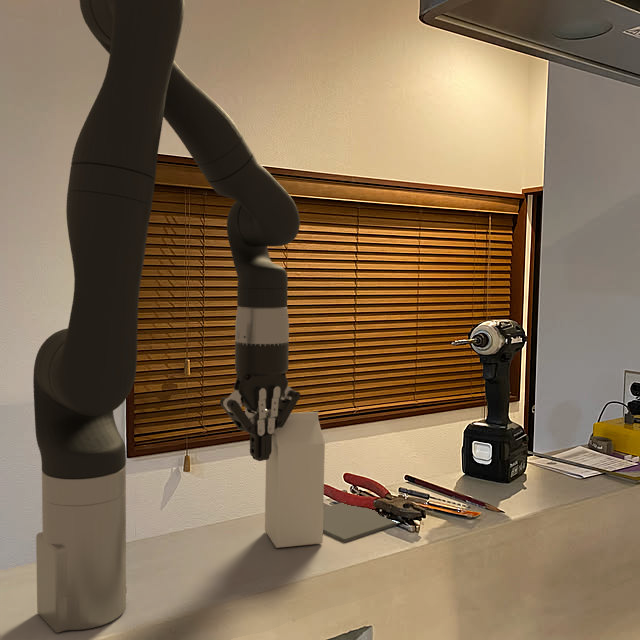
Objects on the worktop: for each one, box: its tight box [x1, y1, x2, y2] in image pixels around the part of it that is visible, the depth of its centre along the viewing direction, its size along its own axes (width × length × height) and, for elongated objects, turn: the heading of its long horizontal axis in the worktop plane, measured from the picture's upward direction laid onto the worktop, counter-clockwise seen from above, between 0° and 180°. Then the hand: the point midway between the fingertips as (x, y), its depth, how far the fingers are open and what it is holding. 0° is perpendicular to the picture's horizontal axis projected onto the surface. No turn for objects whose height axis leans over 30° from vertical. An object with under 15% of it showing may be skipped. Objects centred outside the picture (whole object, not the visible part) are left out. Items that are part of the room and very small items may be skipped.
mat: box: [323, 502, 397, 543], centre depth 116 cm, size 18×12×1 cm, turn 131°
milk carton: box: [264, 411, 326, 549], centre depth 106 cm, size 7×7×19 cm
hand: (260, 459), depth 101 cm, fingers closed
